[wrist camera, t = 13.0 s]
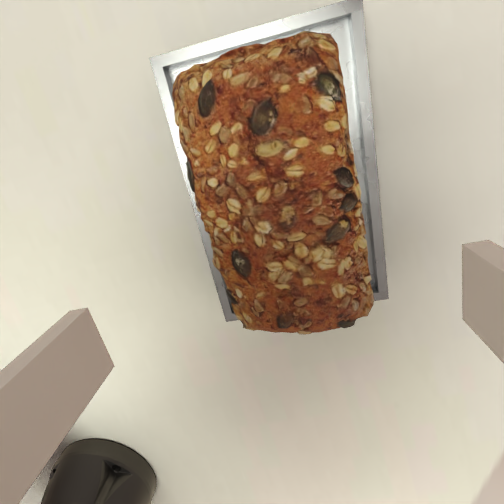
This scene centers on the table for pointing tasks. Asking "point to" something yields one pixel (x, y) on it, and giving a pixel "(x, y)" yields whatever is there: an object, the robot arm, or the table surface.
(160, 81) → the grey serving tray
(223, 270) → the bread
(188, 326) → the table surface
